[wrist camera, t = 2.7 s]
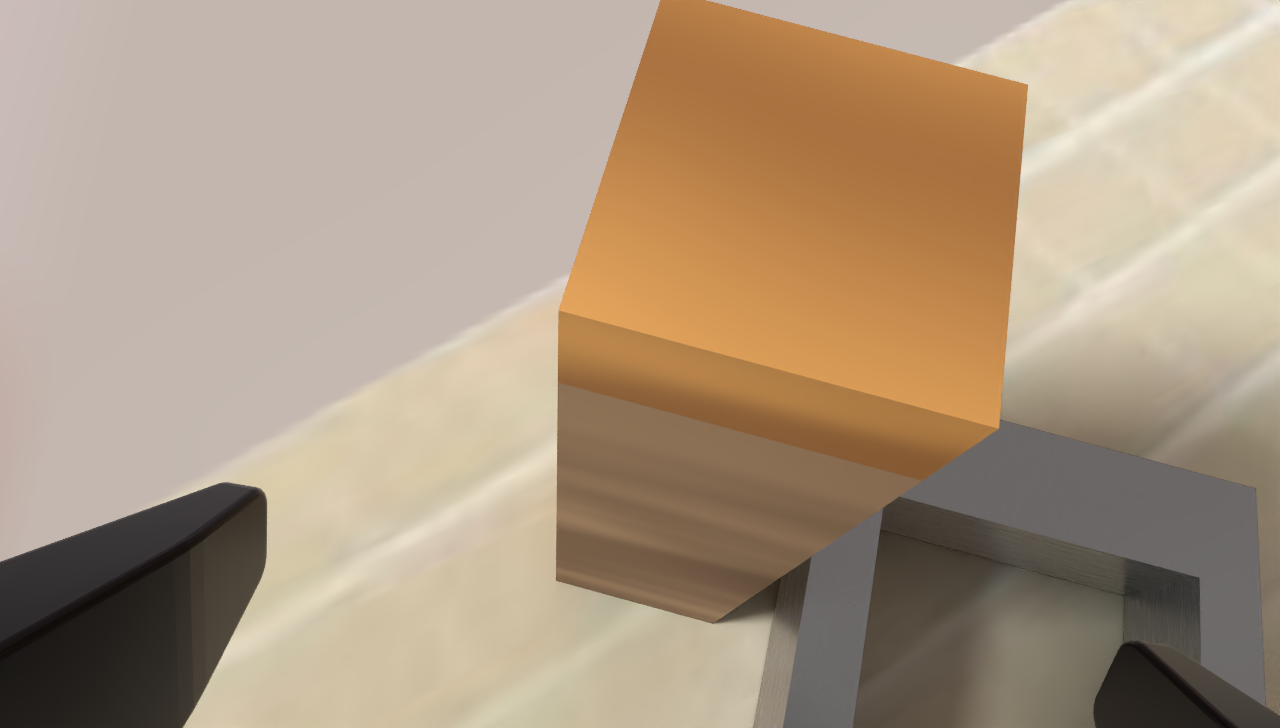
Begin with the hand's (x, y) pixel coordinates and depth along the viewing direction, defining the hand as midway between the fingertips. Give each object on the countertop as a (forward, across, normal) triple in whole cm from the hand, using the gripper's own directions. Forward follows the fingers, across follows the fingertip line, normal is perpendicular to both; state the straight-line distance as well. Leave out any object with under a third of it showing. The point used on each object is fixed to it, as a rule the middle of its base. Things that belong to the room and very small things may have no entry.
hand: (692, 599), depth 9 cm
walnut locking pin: (+9, 0, +5) cm, 10 cm away
